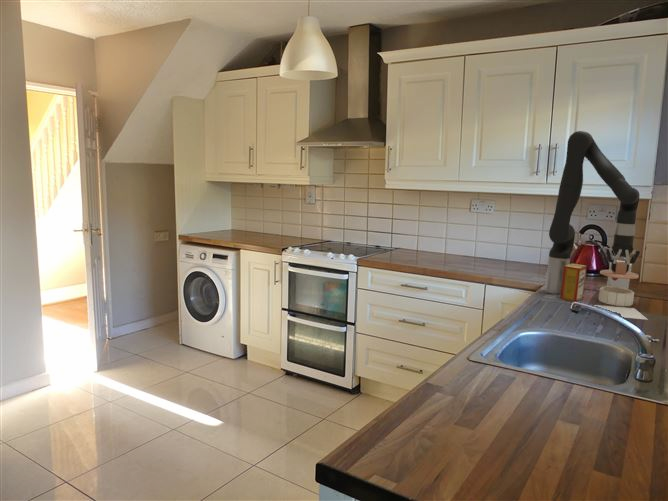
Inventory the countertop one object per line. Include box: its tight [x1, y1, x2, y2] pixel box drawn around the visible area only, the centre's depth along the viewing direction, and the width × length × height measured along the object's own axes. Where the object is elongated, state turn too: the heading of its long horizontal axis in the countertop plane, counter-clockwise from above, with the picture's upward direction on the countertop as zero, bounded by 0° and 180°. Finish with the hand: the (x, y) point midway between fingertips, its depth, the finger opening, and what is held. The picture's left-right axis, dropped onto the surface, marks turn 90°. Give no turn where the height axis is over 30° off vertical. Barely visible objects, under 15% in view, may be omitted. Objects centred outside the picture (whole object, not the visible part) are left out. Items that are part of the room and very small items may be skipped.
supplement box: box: [606, 260, 633, 289], centre depth 242 cm, size 9×9×15 cm
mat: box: [593, 304, 649, 321], centre depth 208 cm, size 16×16×1 cm
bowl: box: [598, 285, 635, 307], centre depth 223 cm, size 13×13×6 cm
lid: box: [599, 260, 640, 280], centre depth 220 cm, size 15×15×6 cm
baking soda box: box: [560, 263, 588, 302], centre depth 226 cm, size 10×6×16 cm
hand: (619, 271), depth 221 cm, fingers closed on lid, 4 cm apart
